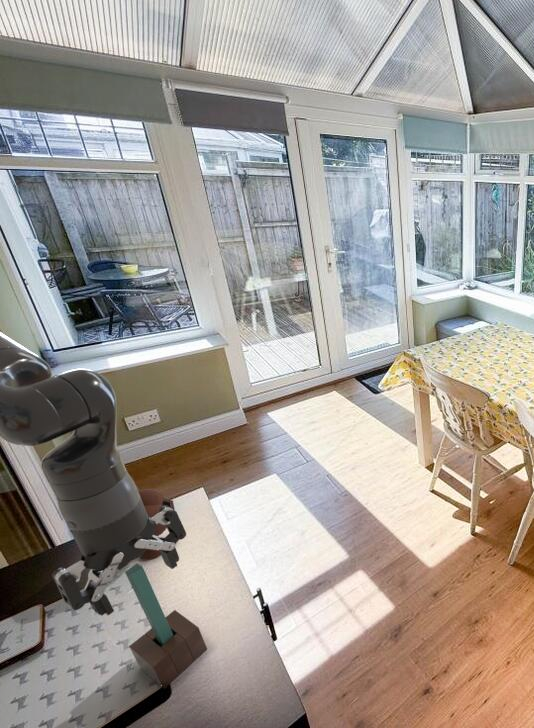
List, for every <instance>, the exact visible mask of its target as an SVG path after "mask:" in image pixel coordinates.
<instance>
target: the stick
mask: <svg viewBox="0 0 534 728" xmlns="http://www.w3.org/2000/svg"><path fill="white" fill-rule="evenodd" d="M124 573H125V575H126V577H127V580H128V581H129V584H130V585H131V588H132V590H133V592H134V594H135V596H136V598H137V600H138V603H139V604H140V607H141V609H142V611H143V613H144V615H145V617H146V619H147V622H148V623H149V625H150V627H151V628H152V630H153V632H154V634H155V636H156V638H157V640H158V642H159V644H160V646H162V645H164V644H165V643H166V642H167V641H168V640H170V639H171V638H172V637H173V636H174V635H173V633H172V631H171V629H170V626H169V624H168V622H167V620H166V618H165V617H166V615H165V613H164V611H163V608H162V606H161V604H160V602H159V600H158V598H157V595H156V593H155V591H154V589H153V586H152V584H151V582H150V580H149V578H148V575H147V573H146V571H145V569H144V567H143V566H142V565H140V564H139V563H135V564H134V565H132V566H131V567H129V568H128V569H126V570H125V571H124ZM151 628H150V629H151Z"/></svg>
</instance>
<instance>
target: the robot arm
mask: <svg viewBox="0 0 534 728" xmlns="http://www.w3.org/2000/svg"><path fill="white" fill-rule="evenodd" d="M117 402H118V401H117V396H116V393H115V390H114V388H113V386H112V384H111V382H110V381H109V380H108V379H107V378H106V377H105V376H104V375H102V374H100V373H99V372H97V371H95V370H91V369H87V368H76V369H71V370H68V371H64V372H62V373H61V372H60V373H59V374H58V373H57V374H55V375H53V371H52V368H51V366H50V364H49V363H48V362H47V361H46V360H45V359H44V358H42V357H41V356H40V355H37V354H36V353H34V352H33V351H31V350H30V349H28V348H26V347H24V346H23V345H22V344H20V343H18V342H17V341H15V340H13V339H11V338H10V337H8V336H7V335H5V334H3V332H1V331H0V438H1V439H2V440H4V441H5V442H7V443H8V444H12V445H15V446H21V447H33V446H39V445H43V444H46V443H48V442H50V441H53V440H56V439H58V438H60V437H62V436H65V435H66V434H69V433H71V434H70V435H69V436H68V437H67V438H66V439H65V440H63V441H62V442H60V443H59V444H58V445H56V446H55V447H53V448H52V449H51V450H49V451H48V452H47V453H46V454H45V455H44V457H42V459H41V462H40V469H41V471H42V473H43V476H44V478H45V479H46V481H47V483H48V485H49V487H50V489H51V491H52V493H53V495H54V496H55V497H54V498H55V499H56V502H57V506H58V509H59V513H60V514H61V516H62V519H63V520H64V522H65V524H66V526H67V528H68V530H69V532H70V533H71V535H72V537H73V539H74V541H75V543H76V545H77V547H78V548H79V550H80V553H81V554H80V559H79V561H76V562H74V563H73V564H72V565H70V566H68V567H66V568H65V567H58V568H57V569H55V570H54V571H53V572H52V574H51V576H52V578H53V580H54V582H55V585H56V586H57V589H58V591H59V593H60V595H61V598H62V600H63V602H64V603H65V604H66V605H68V606H70V607H71V609H72V610H74V611H78V610H80V609H82V608H83V607H84V606H85V605H86V604H88V603H89V604H90V606H91V608H92V609H93V611H94V612H95V613H96V614H97V615H98V616H103V615H107V616H110V615H111V614H113V613H114V612H115V610H114V607H113V605H112V603H111V602H110V599H109V598H108V596H107V594H105V591H106V589H107V587H108V585H109V584H110V583H111V582H112V581H113V579H114V577H115V574H116V572H117V570H119V571H120V570H122V569H123V568H125V567H126V566H128V564H130V563H131V562H132V561H134V560H136V559H138V558H141V557H140V556H141V555H143V554H144V551H145V550H146V549H151V550H159V551H160V553H161V555H160V556H161V558H162V560H163V563H164V564H165V565H166V566H167V567H169V568H170V569H171V570H174V569H175V568H176V567H178V562H179V561H180V555H179V553H178V551H177V548H176V545H177V543H178V542H179V541H180V540H183V539H184V538H185V537H187V531H186V529H185V527H184V525H183V523H182V520H181V519H180V517H179V515H178V512H177V511H176V510H173V509H171V508H170V507H168V506H162V507H161V508H160V509H159V513H158V514H156V515H155V516H153V517H152V518H149V517H148V514H147V512H146V509H145V507H144V505H143V502H142V500H141V497H140V495H139V490H140V489H139V487H138V486H137V485H136V482H135V481H134V479H133V478H132V476H131V475H130V473H129V472H128V470H127V468H126V466H125V463H124V460H123V458H122V456H121V453H120V451H119V448H118V441H117V440H118V439H117V438H118V437H117V419H118V417H117V415H118V414H117V413H118V403H117ZM158 523H160V524H162V525H166V527H167V528H166V530H167V532H168V534H167V535H166V536H165V537H164V536H160V535H159V536H155V535H153V533H154V531H155V529H156V524H158ZM85 569H87V570H89V571H88V573H87V581H86V584H85V585H84V588H83V590H80V588H79V585H78V582H80V581H81V577H82V572H83V571H84V570H85Z"/></svg>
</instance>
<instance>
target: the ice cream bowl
mask: <svg viewBox="0 0 534 728" xmlns="http://www.w3.org/2000/svg"><path fill="white" fill-rule="evenodd" d="M138 490H139V495H140V497H141V500H142V502H143V505H144V507H145V509H146V512H147V514H148V517H149V518H152V517H153V516H155V515H156V514H158V513H159V509H160V508H161V507H162V506H168V507H170V508H171V509H173V510H175V504H174V500H172V499H168V498H165V495H164V494H163V493H162V492H161V491H160V490H159V489H156V488H142V489H138ZM175 511H176V510H175ZM166 530H167V527H166V525H162V524H160V523H158V524H156V529H155V531H154V533H153V535H155V536H159V537H160V536H161V535H162V534H163V533H164V532H165V531H166ZM160 556H162V555H161V553H160V551H159V550H151V549H146V550H145V551H144V554H143V555H141V556H140V557H139V558H140V559H141V560H144V561H145V560H146V561H149V560H152V559H157V558H159V557H160Z"/></svg>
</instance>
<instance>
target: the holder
mask: <svg viewBox="0 0 534 728" xmlns="http://www.w3.org/2000/svg"><path fill="white" fill-rule="evenodd" d="M165 618H166V620H167V622H168V624H169V626H170V629H171V631H172V633H173V635H174V636H173V637H172V638H171V639H170V640H168V641H167V642H166V643H165V644H164V645H162V646H160V644H159V642H158V640H157V638H156V636H155V634H154V632H153V630H152V628H150V629H149V630H148V631H146V632H145V633H144V634H142V635H141V636H140V637H139V638H138V639H136V640H135V641H133V642H132V643H131V644H130V645H129V646H128V647H129V649H130V651H131V653H132V655H133V657H134V658H135V660H136V663H137V664H138V666H139V668H140V669H141V671H143V672H144V673H145V674H146V675H147V676H148V677H150V678H151V679H152V680H153V681H154V682H155V683H157V684H158V685H159V686H160V687H161V688H162V689H163V690H164V689H166V688H167V687H168V686H169V685H170V684H171V683H172V682H173V681H175V680H176V679H177V678H178V677H179V676H180V675H181V674H182V673H184V671H186V669H187V668H189V667H190V666H191V665H192V664H193V663H194V662H195V661H196V660H197V659H199V657H200V656H202V655H203V654H204V653H205V652H206V651H207V650H208V647H207V645H206V642H205V640H204V637H203V635H202V632H201V630H200V627H199V626H197V625H196V624H195V623H193V621H190V619H188V618H187V617H185V616H184V615H182V614H181V613H180V612H178V611H177V610H176V609H174V610H173V611H171V612H170V613H169V614H167V615H165ZM161 685H162V686H161Z"/></svg>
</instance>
